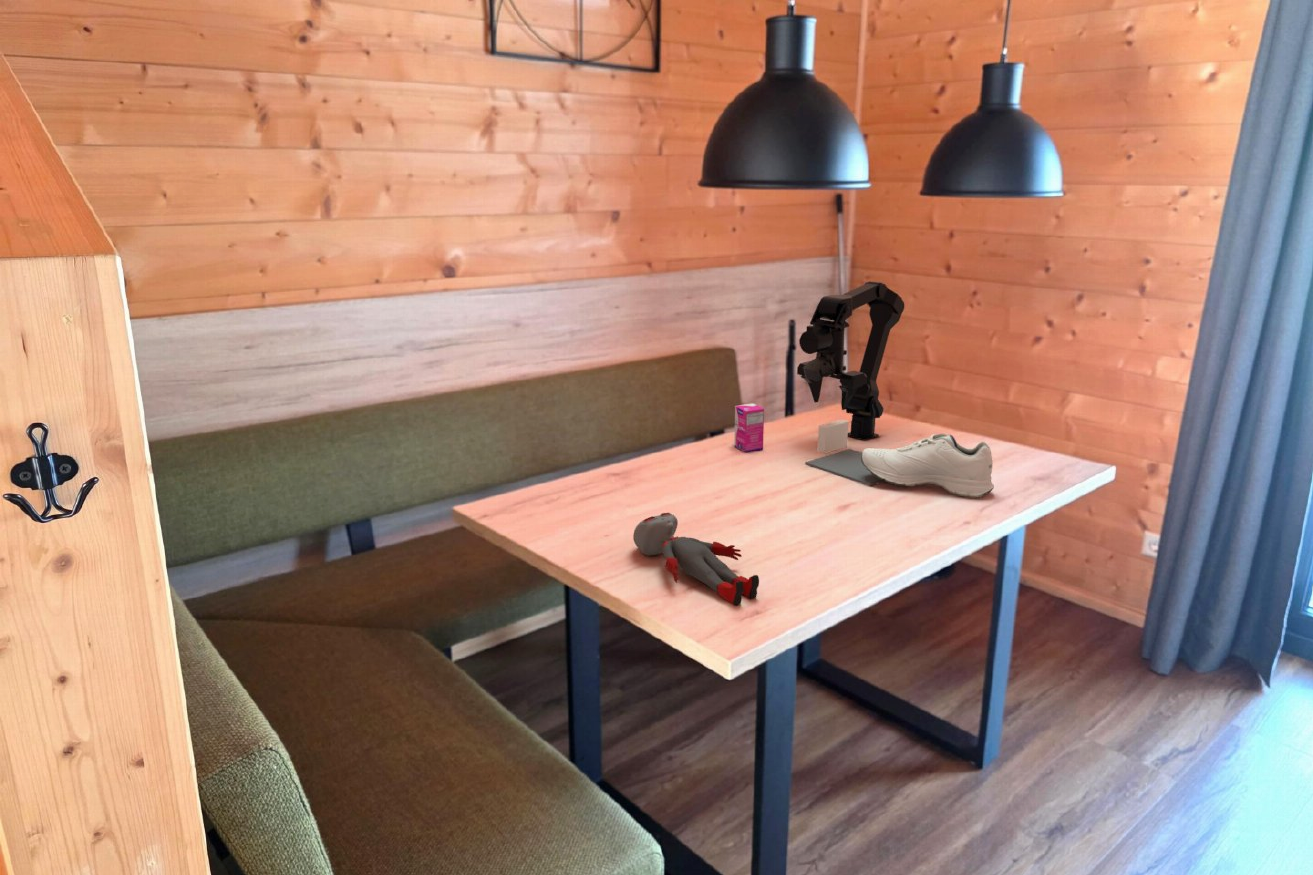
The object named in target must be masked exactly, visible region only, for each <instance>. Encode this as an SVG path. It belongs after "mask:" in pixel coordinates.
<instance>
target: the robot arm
mask: <svg viewBox="0 0 1313 875" xmlns="http://www.w3.org/2000/svg"><path fill="white" fill-rule="evenodd" d="M864 305H867V306H868V307H869V312H868V315H869V318H870V321H871V329H870V333H869V335H868V338H867V342H866V345H865V346H866V347H865V350H864V353H863V358H862V361H861V364H860V368H859V371H857V370H851V371H846V370H847V366H846V365H844V356H846V355H847V354H848V350H846V349H845V347H844V346H845V329H846V328H849V327H850V324H849V323H848V322H847V320H848V319H849V318H850V317H851V316H853V312H854V310H856V309H858V308H860V307H863V306H864ZM904 310H905V302H904V301H903V298H902V297H901V296H900V294H898V293H896V292H895V291H893V290H892V289H890V288H889V287H888V286H887V285H886V284H885V283H883V282H880V281H870V280H869V281H866V282H865V283H864V284H862V285H860V286H859V287H856V288H854V289H852V290H850V291H848V292H844V293H843V294H832V295H825V296H823V297H821V298H820V299H819V302H818V303H817V306H816V308H815V311H814V313H813V315H812V317H811V319H810V322H809V325H807V326H806V331H804V332H802V333H801V335H800V336H799V337H800V338H799V339H798V341H799V342H798V343H799V347H800V349H801V350H802V352H803V353H805V354H807V355H814V354H815V353H816V357H815V358H814V359H812V360H808V361H804V362H800V363H799V364H798V366H797V367H796V368H797V369H796V370H797V371H796V374H797V375H798V376H800V378H801V379H803V380H804V381H805V382H806V383H807V384H808V387H809V389H810V392H811V396H812V398H813V402H814V403H818V402H819V400H820V396H821V390H822V385H823V379H824V377H825V378H832V379H837V380H839V383H840V385H838V388H839V389H840V390H841V405H840V406H841V411H846V412H845V413H846V414H851V421H850V431H848V437H851V438H854V439H858V440H861V441H867V440H868V441H869V440H870V439H873V438H878V437H879V436H880V434H879V433H877V432H875V429H876V419H880V418H881V417H882V415H883V412H884V406H883V405H882V403H881V401H880V400H879V396H880V390H879V387H878V384H877V379H878V375H879V371H880V368H881V365H882V361H883V357H884V354H885V350H886V346H887V344H888V340H889V335H890V332H891V329H892V328H894V327H895V326H896V324H898V322H900V319H901V316H902V314H903V312H904ZM844 371H846V372H844Z"/></svg>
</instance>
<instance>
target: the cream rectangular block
mask: <svg viewBox="0 0 1313 875" xmlns="http://www.w3.org/2000/svg"><path fill="white" fill-rule="evenodd" d="M849 423H850V422H849V421H848V420H845V419H837V420H835V421H832V422H831V421H830V422H827V423H824V424H821V425H818V433H817V434H818V436H817V437H818V438H817V450H816V451H817V452H819V453H822V454H827V453H830V452H833V451H837V450H841V449H844V448H847V447H848V437H849V436H848V433H849Z"/></svg>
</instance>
